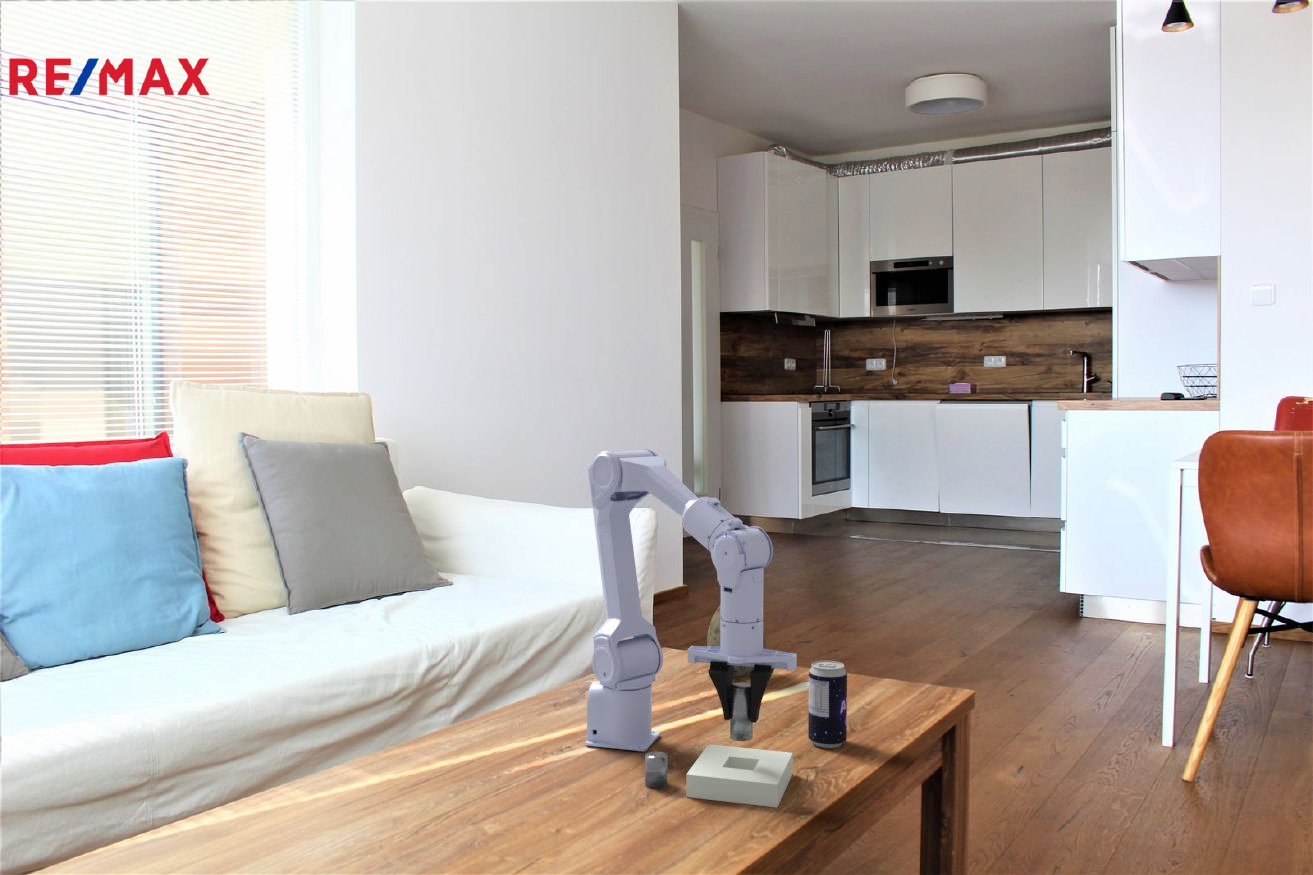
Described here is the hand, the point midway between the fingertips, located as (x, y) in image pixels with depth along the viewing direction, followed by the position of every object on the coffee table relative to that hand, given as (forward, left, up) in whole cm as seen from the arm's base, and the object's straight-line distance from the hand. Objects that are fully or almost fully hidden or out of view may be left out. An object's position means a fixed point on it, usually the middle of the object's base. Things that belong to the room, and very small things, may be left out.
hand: (741, 719), depth 138 cm
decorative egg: (-12, +52, -9) cm, 54 cm away
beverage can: (+9, +20, -9) cm, 24 cm away
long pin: (0, 0, -2) cm, 3 cm away
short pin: (-11, -3, -9) cm, 15 cm away
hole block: (0, 0, -9) cm, 9 cm away
